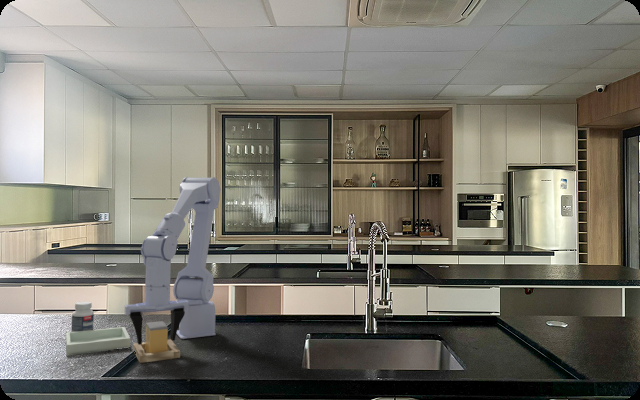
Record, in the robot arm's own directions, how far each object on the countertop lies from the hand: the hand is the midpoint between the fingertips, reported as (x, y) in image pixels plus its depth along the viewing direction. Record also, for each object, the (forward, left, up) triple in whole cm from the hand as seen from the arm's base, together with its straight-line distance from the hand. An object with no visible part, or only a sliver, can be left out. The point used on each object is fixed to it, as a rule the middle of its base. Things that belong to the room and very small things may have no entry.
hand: (156, 341), depth 114 cm
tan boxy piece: (0, 0, -3) cm, 3 cm away
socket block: (0, 0, -3) cm, 3 cm away
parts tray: (+12, -13, -3) cm, 18 cm away
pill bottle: (+15, -24, -3) cm, 28 cm away
